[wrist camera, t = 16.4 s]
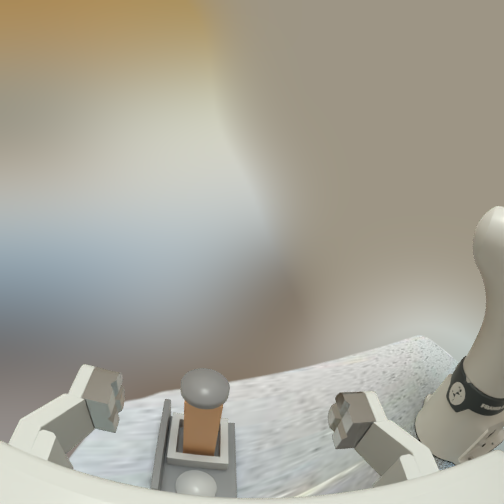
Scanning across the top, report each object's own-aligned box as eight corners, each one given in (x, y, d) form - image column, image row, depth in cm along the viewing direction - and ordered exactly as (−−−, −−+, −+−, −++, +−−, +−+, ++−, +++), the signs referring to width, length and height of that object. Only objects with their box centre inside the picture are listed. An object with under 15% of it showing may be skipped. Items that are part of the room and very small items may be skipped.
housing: (233, 426, 42) (238, 407, 40) (236, 509, 29) (242, 496, 27) (165, 419, 40) (164, 398, 38) (153, 501, 28) (150, 487, 26)
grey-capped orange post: (218, 432, 39) (229, 371, 34) (217, 462, 34) (229, 405, 29) (181, 428, 39) (183, 365, 33) (177, 458, 34) (178, 400, 29)
